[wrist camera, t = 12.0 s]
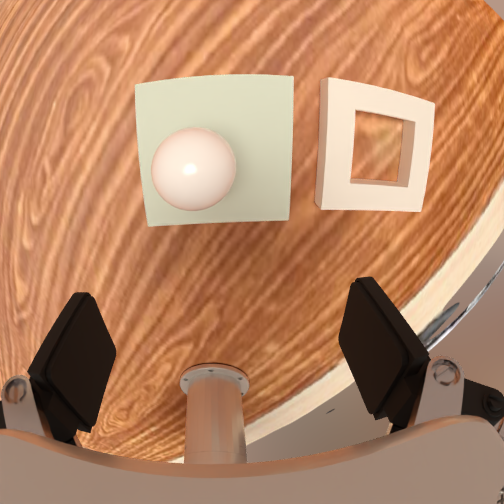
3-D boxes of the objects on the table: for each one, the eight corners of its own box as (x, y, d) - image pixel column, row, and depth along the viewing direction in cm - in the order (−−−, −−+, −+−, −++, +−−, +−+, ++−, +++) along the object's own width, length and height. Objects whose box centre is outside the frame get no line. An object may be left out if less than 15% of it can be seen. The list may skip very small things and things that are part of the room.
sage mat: (288, 218, 31) (288, 220, 30) (149, 224, 30) (148, 226, 29) (292, 76, 23) (293, 76, 23) (136, 84, 22) (134, 84, 21)
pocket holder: (410, 204, 31) (420, 211, 29) (314, 202, 30) (321, 209, 28) (422, 102, 24) (434, 103, 22) (320, 79, 23) (328, 77, 21)
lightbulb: (170, 181, 27) (140, 221, 17) (174, 121, 24) (142, 127, 14) (229, 185, 28) (232, 228, 18) (237, 126, 25) (244, 133, 15)
